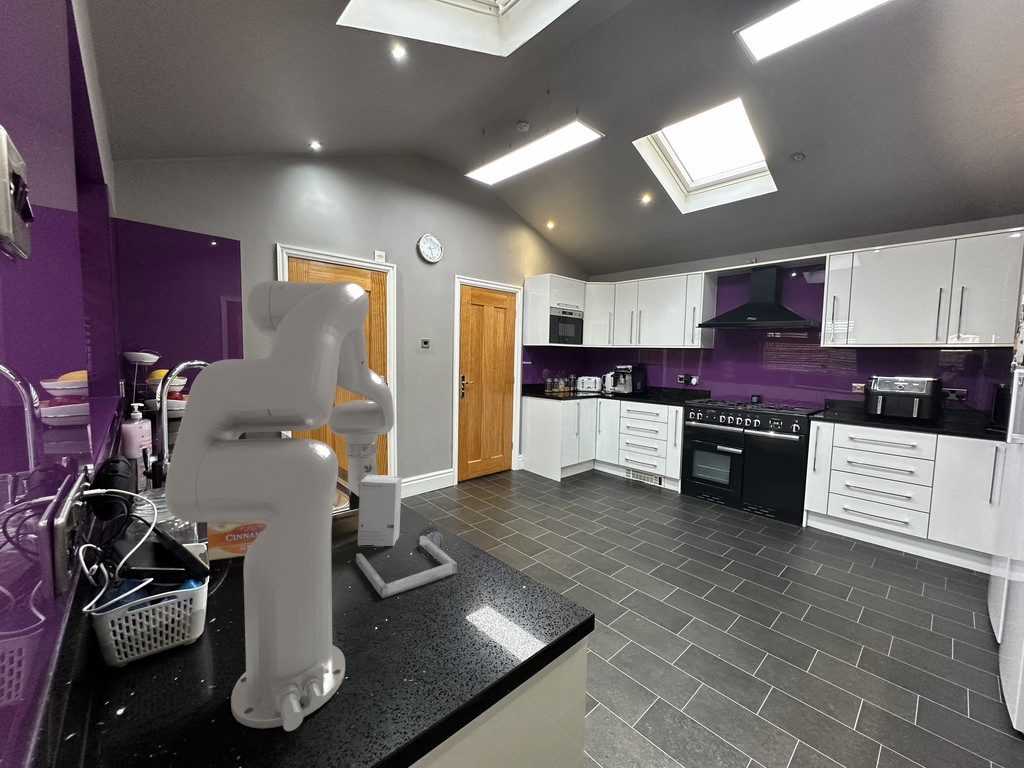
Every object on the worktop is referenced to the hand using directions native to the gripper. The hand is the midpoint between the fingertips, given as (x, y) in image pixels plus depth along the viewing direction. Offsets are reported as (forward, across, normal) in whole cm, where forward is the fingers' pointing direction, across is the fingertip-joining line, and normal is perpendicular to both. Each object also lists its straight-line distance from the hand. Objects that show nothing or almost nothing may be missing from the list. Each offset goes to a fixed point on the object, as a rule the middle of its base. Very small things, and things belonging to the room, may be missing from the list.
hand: (361, 514), depth 103 cm
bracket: (+2, -28, 0) cm, 28 cm away
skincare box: (+2, -14, 0) cm, 14 cm away
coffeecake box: (+2, -2, +24) cm, 24 cm away
